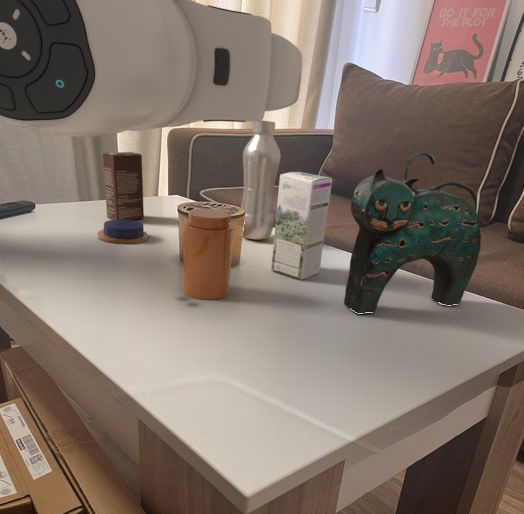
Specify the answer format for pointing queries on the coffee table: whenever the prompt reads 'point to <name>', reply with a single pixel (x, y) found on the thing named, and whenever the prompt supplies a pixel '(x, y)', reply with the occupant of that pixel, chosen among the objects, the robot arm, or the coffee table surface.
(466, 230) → the ceramic cat
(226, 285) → the jar
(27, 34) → the robot arm
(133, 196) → the box
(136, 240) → the coaster
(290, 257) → the syrup box
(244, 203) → the metal water bottle
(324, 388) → the coffee table surface
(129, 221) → the jar lid
